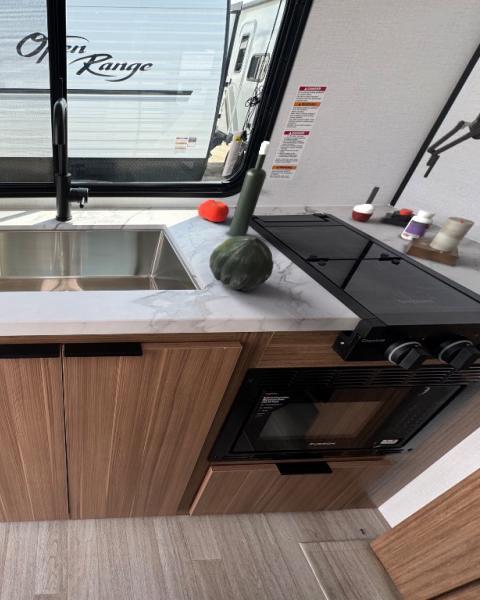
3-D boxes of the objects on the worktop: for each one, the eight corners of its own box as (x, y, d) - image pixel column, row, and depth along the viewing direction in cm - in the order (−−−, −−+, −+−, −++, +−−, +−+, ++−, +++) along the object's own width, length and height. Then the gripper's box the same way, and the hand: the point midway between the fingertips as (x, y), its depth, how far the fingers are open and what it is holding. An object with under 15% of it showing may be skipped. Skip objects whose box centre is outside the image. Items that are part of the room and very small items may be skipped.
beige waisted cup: (429, 242, 104) (449, 214, 99) (453, 247, 101) (474, 219, 96) (429, 247, 101) (449, 219, 95) (453, 253, 98) (475, 224, 92)
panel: (455, 256, 103) (462, 247, 101) (456, 267, 97) (463, 257, 95) (407, 244, 109) (413, 236, 108) (405, 254, 103) (411, 245, 102)
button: (410, 214, 123) (413, 210, 122) (410, 217, 121) (413, 212, 120) (398, 212, 125) (401, 207, 124) (398, 214, 123) (400, 210, 122)
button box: (416, 224, 125) (422, 214, 123) (415, 230, 120) (422, 219, 118) (383, 217, 130) (389, 207, 128) (381, 222, 126) (387, 212, 123)
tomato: (213, 226, 120) (218, 209, 116) (192, 216, 128) (195, 200, 124) (231, 221, 124) (236, 204, 120) (209, 212, 132) (213, 196, 128)
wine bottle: (249, 236, 113) (281, 142, 95) (236, 238, 111) (266, 143, 94) (237, 230, 117) (266, 139, 100) (224, 232, 115) (252, 140, 98)
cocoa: (359, 224, 124) (376, 193, 117) (343, 218, 128) (358, 188, 122) (375, 221, 127) (392, 190, 120) (358, 216, 131) (375, 186, 125)
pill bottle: (421, 242, 111) (440, 215, 105) (402, 239, 113) (419, 212, 108) (418, 237, 115) (436, 210, 109) (399, 233, 117) (416, 207, 111)
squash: (231, 244, 95) (227, 216, 82) (283, 264, 86) (288, 237, 74) (203, 283, 94) (195, 261, 82) (253, 308, 86) (253, 287, 74)
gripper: (446, 100, 94) (402, 175, 107) (579, 107, 81) (512, 191, 94) (444, 99, 99) (403, 171, 111) (570, 105, 86) (508, 186, 98)
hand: (453, 181), depth 103 cm, fingers open, 13 cm apart
